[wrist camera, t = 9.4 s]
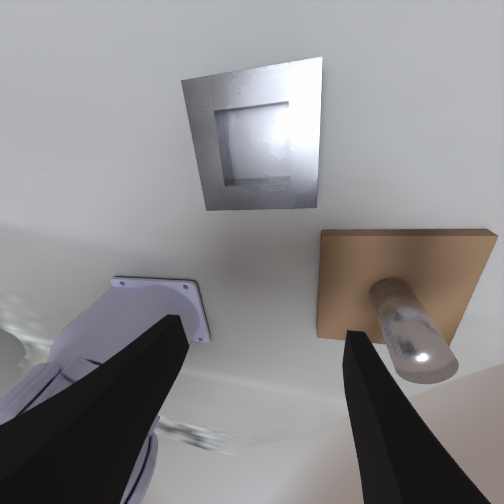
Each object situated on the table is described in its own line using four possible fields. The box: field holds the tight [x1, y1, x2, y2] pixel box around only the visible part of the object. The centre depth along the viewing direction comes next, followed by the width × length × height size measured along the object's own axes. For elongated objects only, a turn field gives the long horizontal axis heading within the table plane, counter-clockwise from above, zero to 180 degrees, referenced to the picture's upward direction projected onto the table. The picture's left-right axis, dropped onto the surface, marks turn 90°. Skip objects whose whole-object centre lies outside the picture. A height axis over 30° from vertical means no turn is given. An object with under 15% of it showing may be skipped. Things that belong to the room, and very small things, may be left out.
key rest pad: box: [317, 229, 498, 346], centre depth 18 cm, size 10×10×1 cm
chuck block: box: [181, 57, 322, 211], centre depth 14 cm, size 7×7×2 cm
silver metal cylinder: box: [369, 278, 459, 384], centre depth 14 cm, size 3×3×6 cm
